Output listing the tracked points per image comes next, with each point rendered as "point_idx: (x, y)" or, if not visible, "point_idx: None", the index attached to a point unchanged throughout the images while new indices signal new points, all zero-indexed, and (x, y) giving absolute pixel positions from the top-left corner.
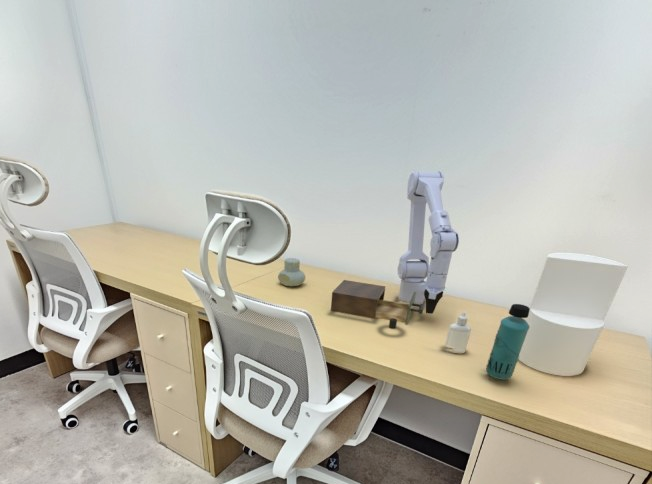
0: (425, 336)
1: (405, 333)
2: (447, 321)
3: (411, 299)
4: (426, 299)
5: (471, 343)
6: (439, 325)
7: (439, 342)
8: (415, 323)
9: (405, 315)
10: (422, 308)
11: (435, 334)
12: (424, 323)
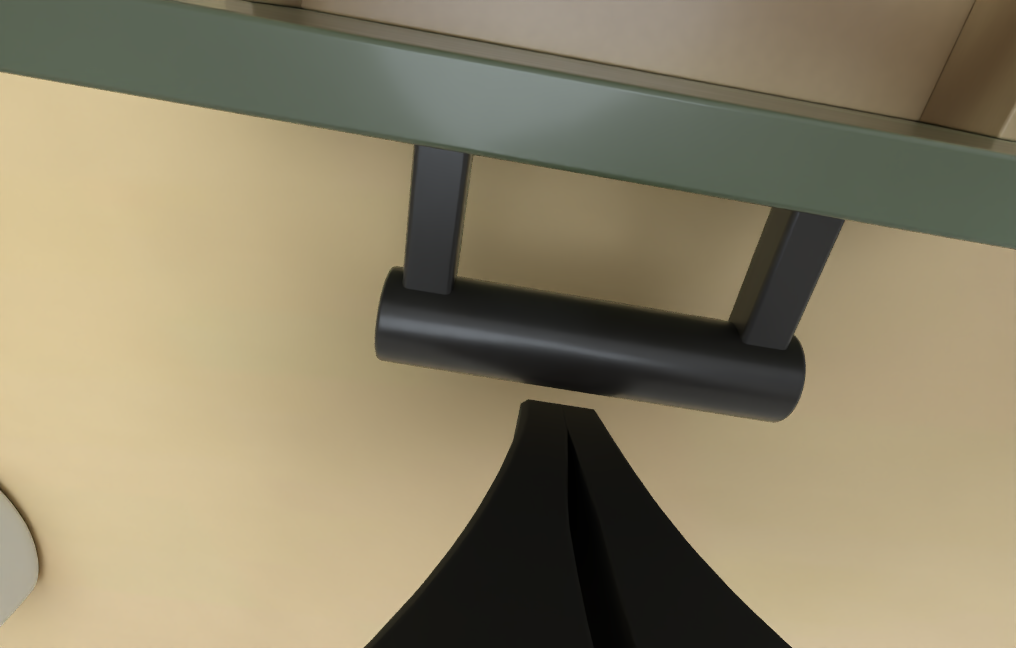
0: (137, 299)
1: None
2: None
3: (600, 103)
4: (398, 625)
5: (223, 645)
6: None
7: (73, 425)
8: (508, 193)
9: (633, 8)
10: (503, 375)
11: (258, 407)
12: None
